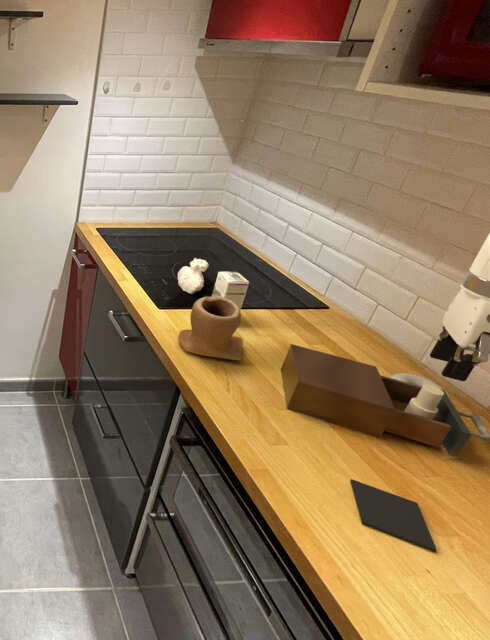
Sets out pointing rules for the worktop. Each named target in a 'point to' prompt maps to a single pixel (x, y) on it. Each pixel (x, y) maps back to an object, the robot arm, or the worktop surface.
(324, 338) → the worktop surface
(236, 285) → the syrup box
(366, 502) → the mat
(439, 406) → the drawer
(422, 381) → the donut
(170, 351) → the worktop surface
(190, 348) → the stone cup
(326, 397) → the cabinet
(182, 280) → the white lumpy blob
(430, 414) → the cream stepped cylinder
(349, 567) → the worktop surface
